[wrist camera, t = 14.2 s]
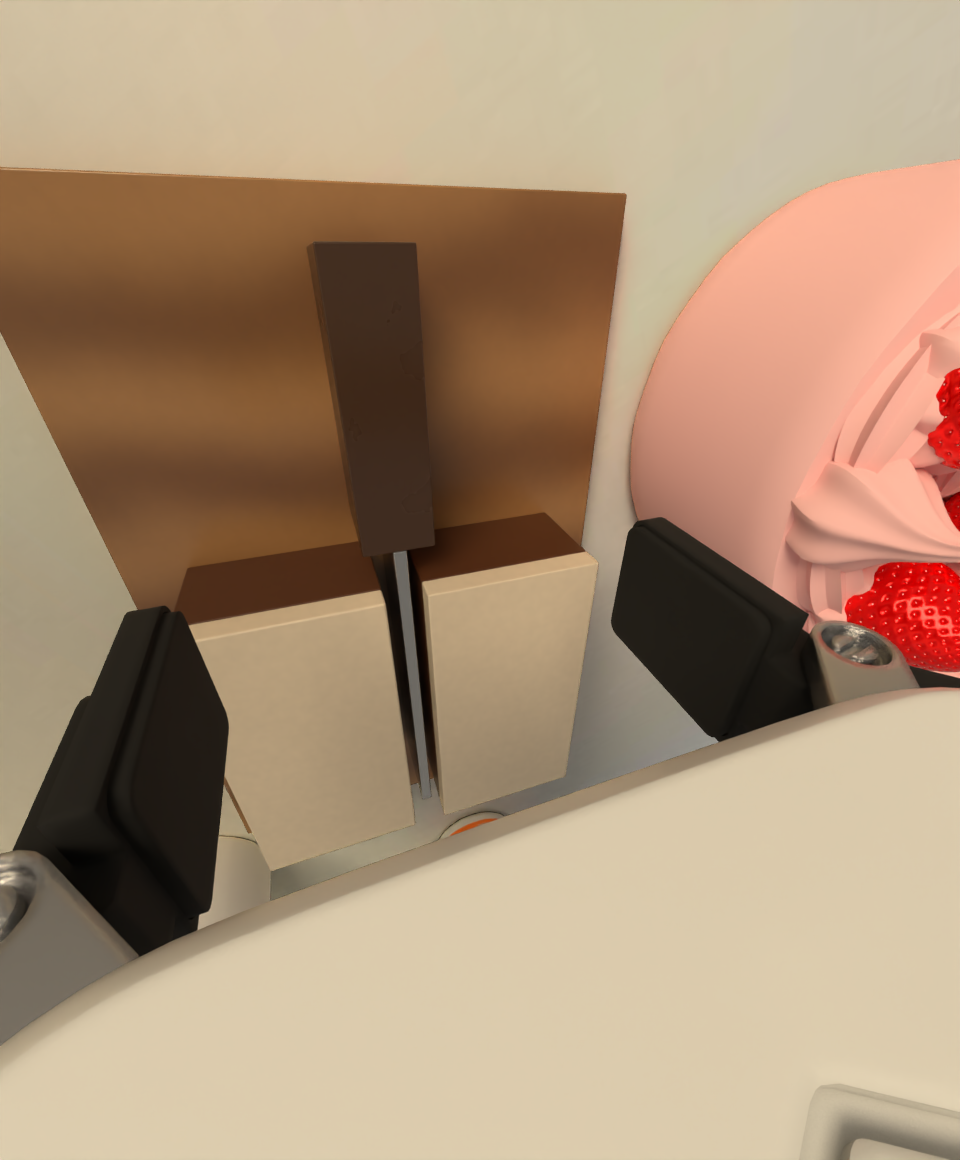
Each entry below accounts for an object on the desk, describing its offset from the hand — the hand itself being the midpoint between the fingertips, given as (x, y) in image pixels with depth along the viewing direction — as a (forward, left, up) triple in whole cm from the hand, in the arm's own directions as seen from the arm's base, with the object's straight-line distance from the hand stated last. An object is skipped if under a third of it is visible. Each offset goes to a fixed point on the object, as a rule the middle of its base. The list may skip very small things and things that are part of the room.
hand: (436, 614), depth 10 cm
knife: (+5, 0, -11) cm, 12 cm away
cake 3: (+1, +22, -12) cm, 25 cm away
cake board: (+7, 0, -12) cm, 14 cm away
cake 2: (+11, +5, -11) cm, 16 cm away
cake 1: (+11, -4, -11) cm, 16 cm away
